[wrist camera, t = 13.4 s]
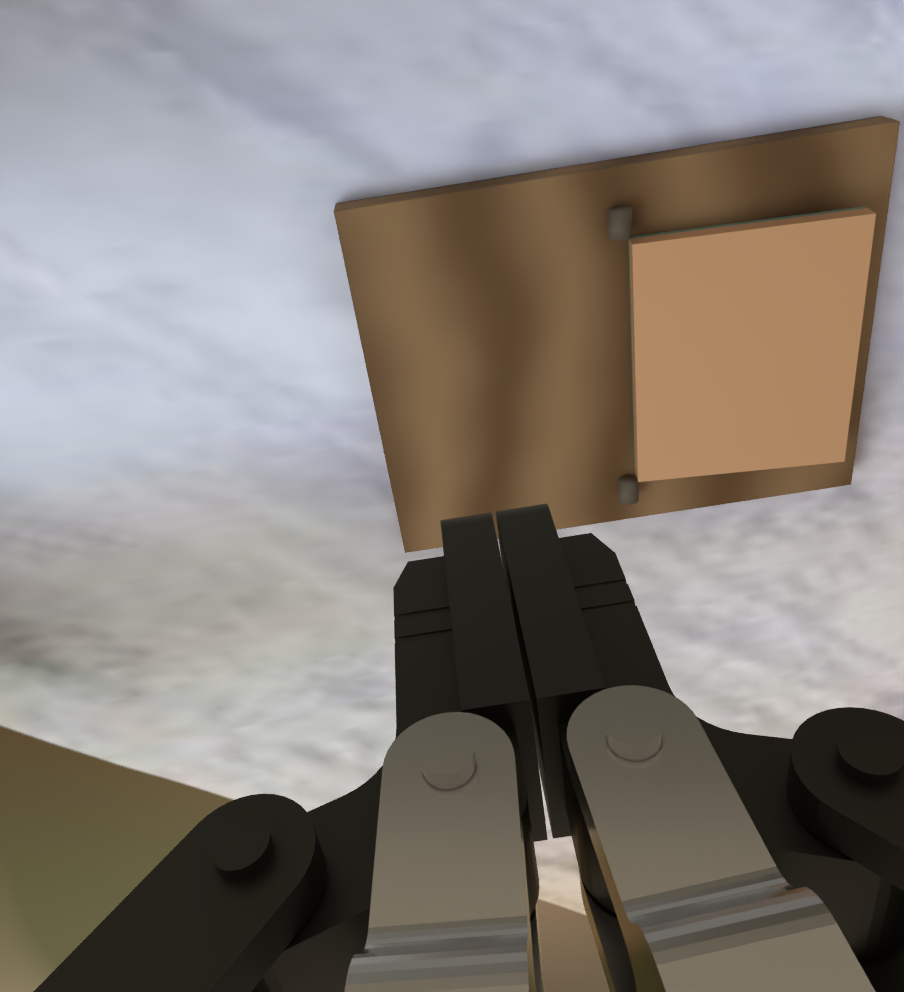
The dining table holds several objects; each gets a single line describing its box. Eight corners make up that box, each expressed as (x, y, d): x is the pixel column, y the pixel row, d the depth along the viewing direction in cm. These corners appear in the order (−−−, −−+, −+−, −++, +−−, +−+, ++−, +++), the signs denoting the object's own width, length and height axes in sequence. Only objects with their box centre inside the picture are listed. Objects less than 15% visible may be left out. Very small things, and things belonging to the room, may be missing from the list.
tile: (632, 244, 36) (628, 236, 37) (638, 482, 42) (634, 469, 43) (876, 213, 35) (865, 206, 36) (844, 461, 41) (835, 449, 42)
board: (404, 536, 46) (405, 564, 44) (335, 203, 37) (332, 218, 35) (838, 470, 46) (860, 495, 44) (881, 116, 36) (913, 125, 34)
